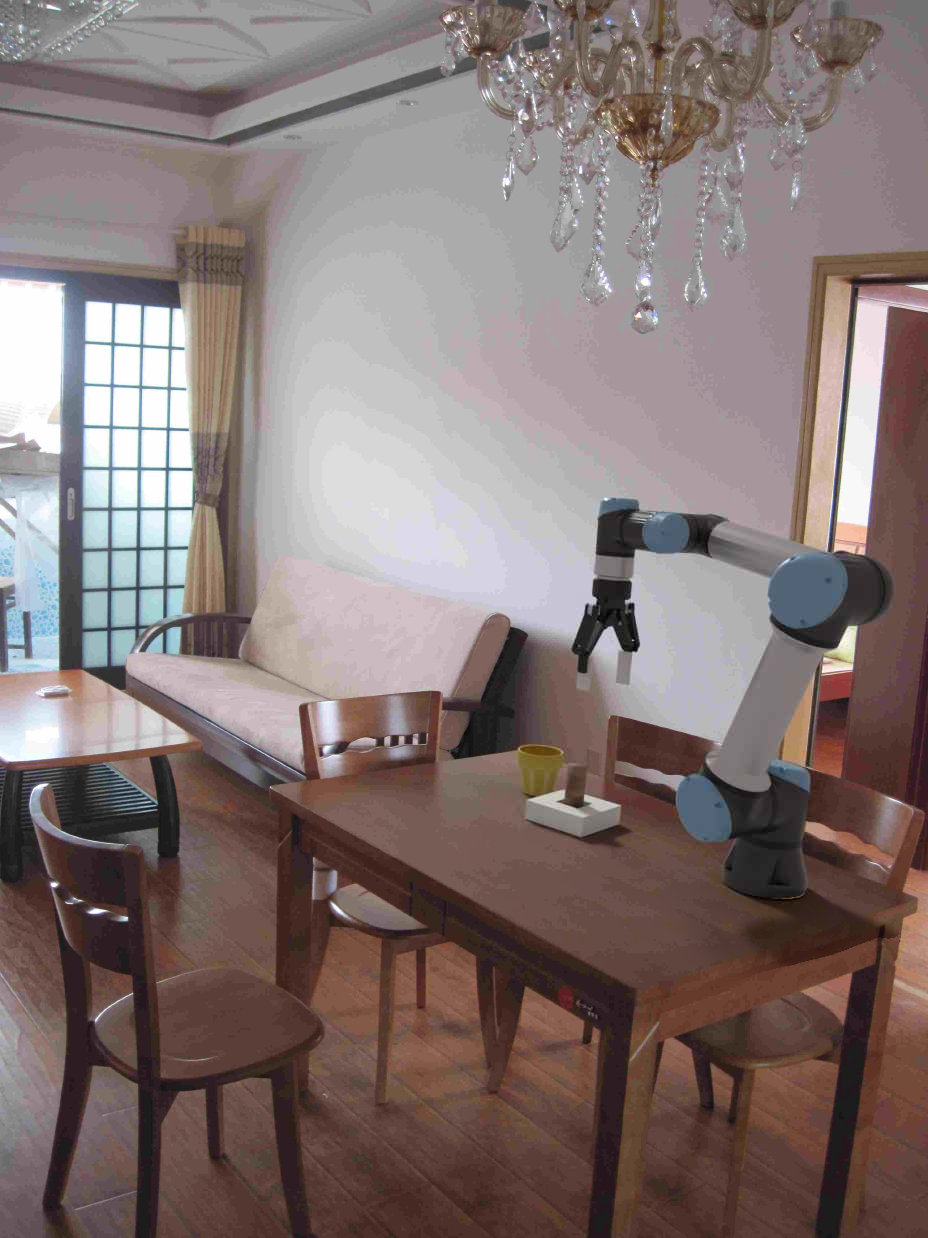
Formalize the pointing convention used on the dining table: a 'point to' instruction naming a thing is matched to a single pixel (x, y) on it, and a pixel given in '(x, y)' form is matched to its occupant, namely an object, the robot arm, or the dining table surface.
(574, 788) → the peg
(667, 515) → the robot arm
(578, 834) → the socket block
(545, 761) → the plant pot
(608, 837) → the dining table surface
